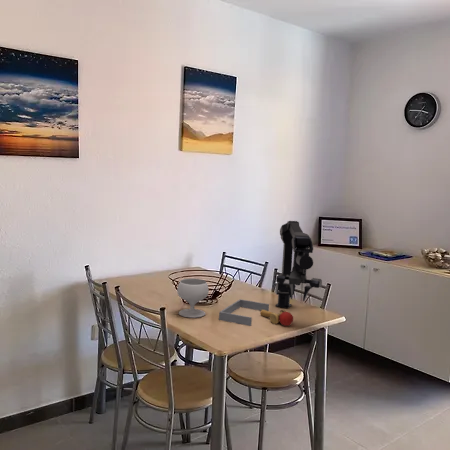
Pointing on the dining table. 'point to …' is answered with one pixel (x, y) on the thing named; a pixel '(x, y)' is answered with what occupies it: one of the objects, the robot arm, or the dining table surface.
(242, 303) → the box
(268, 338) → the dining table surface
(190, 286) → the chalice
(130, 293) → the dining table surface
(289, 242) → the robot arm
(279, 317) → the kendama
